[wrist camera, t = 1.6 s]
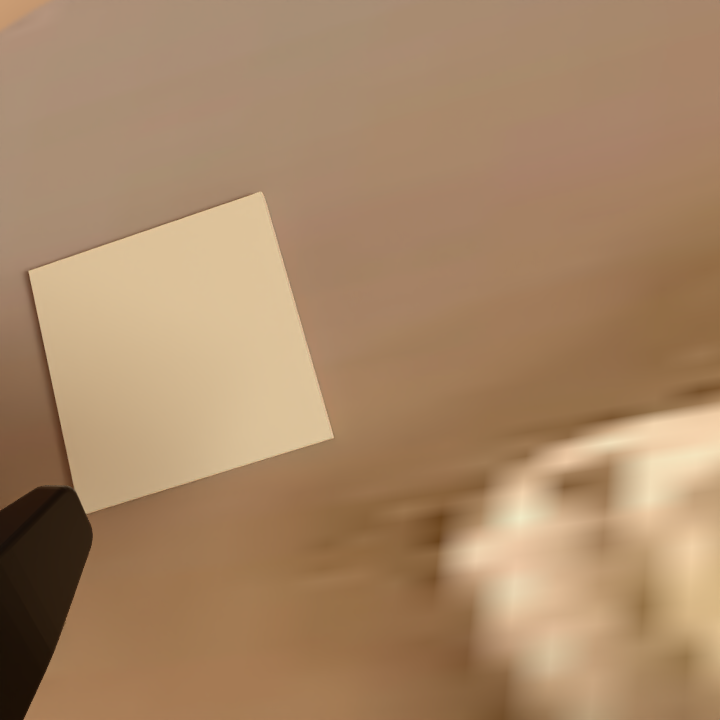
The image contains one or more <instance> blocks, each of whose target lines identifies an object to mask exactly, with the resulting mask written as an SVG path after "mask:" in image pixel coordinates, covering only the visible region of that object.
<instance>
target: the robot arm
mask: <svg viewBox="0 0 720 720" xmlns="http://www.w3.org/2000/svg"><path fill="white" fill-rule="evenodd" d="M92 538H93V533H92V527H91V524H90V522H89V520H88V518H87V515H86V513H85V511H84V508H83V506H82V504H81V501H80V499H79V497H78V495H77V493H76V491H75V490H74V489H73V488H72V487H69V486H57V485H45V486H40V487H37V488H36V489H34V490H32V491H31V492H29V493H28V494H26V495H24V496H23V497H21V498H20V499H18V500H17V501H15V502H13V503H12V504H10V505H9V506H7V507H6V508H4V509H2V510H1V511H0V720H24V717H25V715H26V713H27V711H28V709H29V707H30V704H31V702H32V700H33V698H34V696H35V693H36V691H37V689H38V687H39V685H40V683H41V680H42V678H43V676H44V674H45V672H46V669H47V667H48V665H49V662H50V660H51V658H52V655H53V653H54V650H55V648H56V645H57V643H58V640H59V637H60V635H61V632H62V629H63V626H64V623H65V620H66V617H67V614H68V612H69V609H70V606H71V603H72V600H73V597H74V594H75V591H76V589H77V586H78V583H79V580H80V577H81V574H82V571H83V568H84V566H85V563H86V560H87V557H88V554H89V551H90V548H91V545H92Z"/></svg>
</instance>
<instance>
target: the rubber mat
mask: <svg viewBox="0 0 720 720" xmlns="http://www.w3.org/2000/svg"><path fill="white" fill-rule="evenodd" d="M29 276H30V281H31V285H32V290H33V295H34V300H35V304H36V309H37V314H38V319H39V323H40V328H41V333H42V338H43V342H44V347H45V352H46V357H47V361H48V366H49V371H50V375H51V380H52V385H53V390H54V394H55V399H56V404H57V409H58V413H59V418H60V423H61V428H62V432H63V437H64V442H65V447H66V451H67V456H68V461H69V465H70V470H71V475H72V480H73V484H74V489H75V491H76V493H77V495H78V497H79V499H80V501H81V504H82V506H83V508H84V511H85V513H86V514H89V513H92V512H95V511H99V510H102V509H105V508H108V507H112V506H115V505H118V504H121V503H125V502H128V501H131V500H134V499H138V498H141V497H144V496H147V495H151V494H154V493H157V492H160V491H164V490H167V489H170V488H173V487H177V486H180V485H183V484H186V483H190V482H193V481H196V480H199V479H203V478H206V477H209V476H213V475H216V474H219V473H222V472H226V471H229V470H232V469H235V468H239V467H242V466H245V465H248V464H252V463H255V462H258V461H261V460H265V459H268V458H271V457H274V456H278V455H281V454H284V453H287V452H291V451H294V450H297V449H300V448H304V447H307V446H310V445H313V444H317V443H320V442H323V441H326V440H330V439H333V438H334V436H333V432H332V429H331V425H330V422H329V418H328V415H327V412H326V408H325V405H324V401H323V398H322V394H321V391H320V387H319V384H318V380H317V377H316V373H315V370H314V367H313V363H312V360H311V356H310V353H309V349H308V346H307V342H306V339H305V335H304V332H303V328H302V325H301V321H300V318H299V315H298V311H297V308H296V304H295V301H294V297H293V294H292V290H291V287H290V283H289V280H288V276H287V273H286V269H285V266H284V263H283V259H282V256H281V252H280V249H279V245H278V242H277V238H276V235H275V231H274V228H273V224H272V221H271V217H270V214H269V211H268V207H267V204H266V200H265V197H264V195H263V194H262V192H258V193H255V194H252V195H249V196H246V197H243V198H241V199H238V200H235V201H232V202H229V203H226V204H223V205H220V206H217V207H214V208H211V209H208V210H205V211H203V212H200V213H197V214H194V215H191V216H188V217H185V218H182V219H179V220H176V221H173V222H170V223H167V224H164V225H162V226H159V227H156V228H153V229H150V230H147V231H144V232H141V233H138V234H135V235H132V236H129V237H126V238H124V239H121V240H118V241H115V242H112V243H109V244H106V245H103V246H100V247H97V248H94V249H91V250H88V251H86V252H83V253H80V254H77V255H74V256H71V257H68V258H65V259H62V260H59V261H56V262H53V263H50V264H48V265H45V266H42V267H39V268H36V269H33V270H30V271H29Z"/></svg>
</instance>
